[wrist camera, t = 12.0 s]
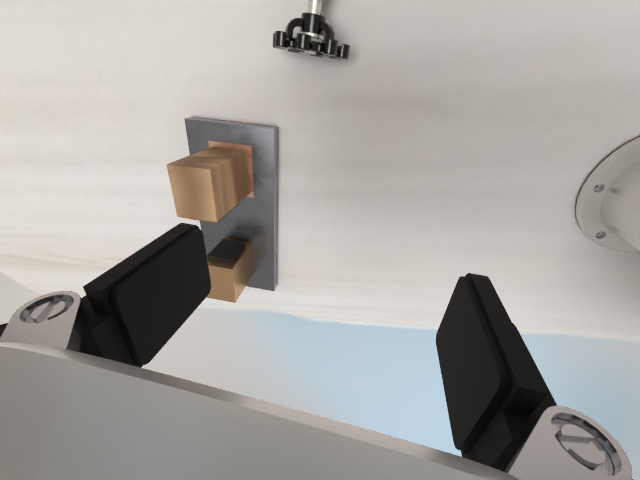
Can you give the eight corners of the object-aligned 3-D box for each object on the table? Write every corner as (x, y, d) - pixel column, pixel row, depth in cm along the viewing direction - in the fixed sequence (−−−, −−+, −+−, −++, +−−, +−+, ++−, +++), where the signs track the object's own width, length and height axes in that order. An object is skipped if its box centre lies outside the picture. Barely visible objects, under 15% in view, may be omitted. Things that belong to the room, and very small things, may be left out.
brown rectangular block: (246, 150, 30) (209, 169, 24) (250, 198, 33) (217, 228, 26) (212, 146, 31) (166, 164, 24) (218, 194, 34) (178, 222, 27)
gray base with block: (278, 127, 30) (252, 138, 24) (277, 284, 41) (259, 321, 35) (192, 117, 31) (145, 125, 25) (213, 273, 42) (185, 307, 36)
